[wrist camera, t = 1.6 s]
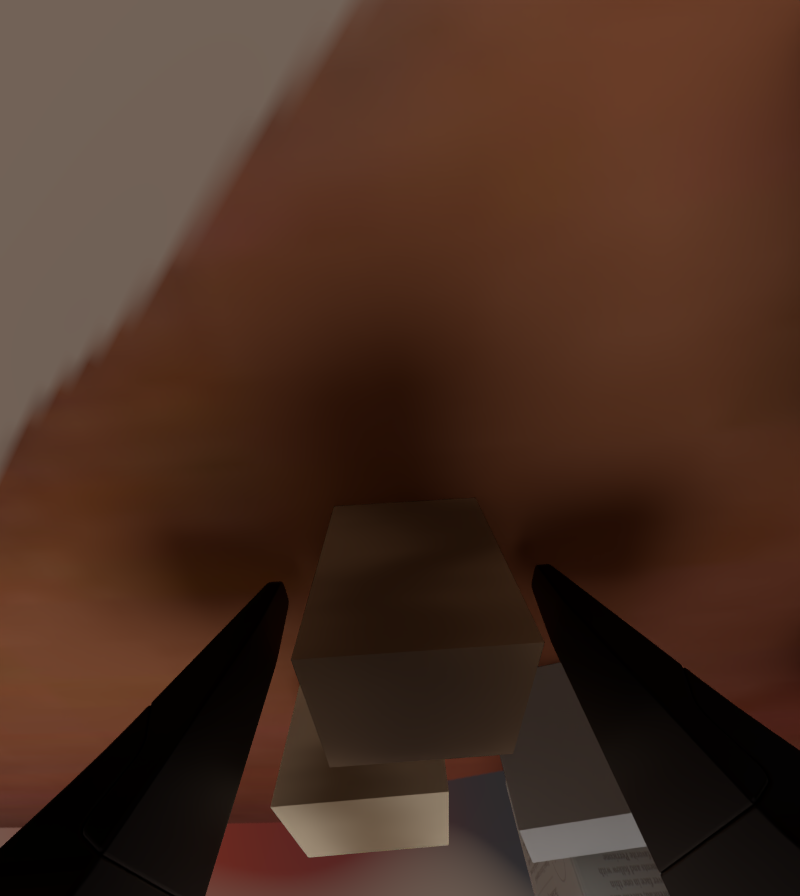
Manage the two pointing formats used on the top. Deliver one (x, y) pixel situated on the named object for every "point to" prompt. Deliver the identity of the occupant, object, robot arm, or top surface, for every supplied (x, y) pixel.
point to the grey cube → (564, 778)
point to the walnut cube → (415, 637)
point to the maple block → (357, 798)
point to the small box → (596, 874)
